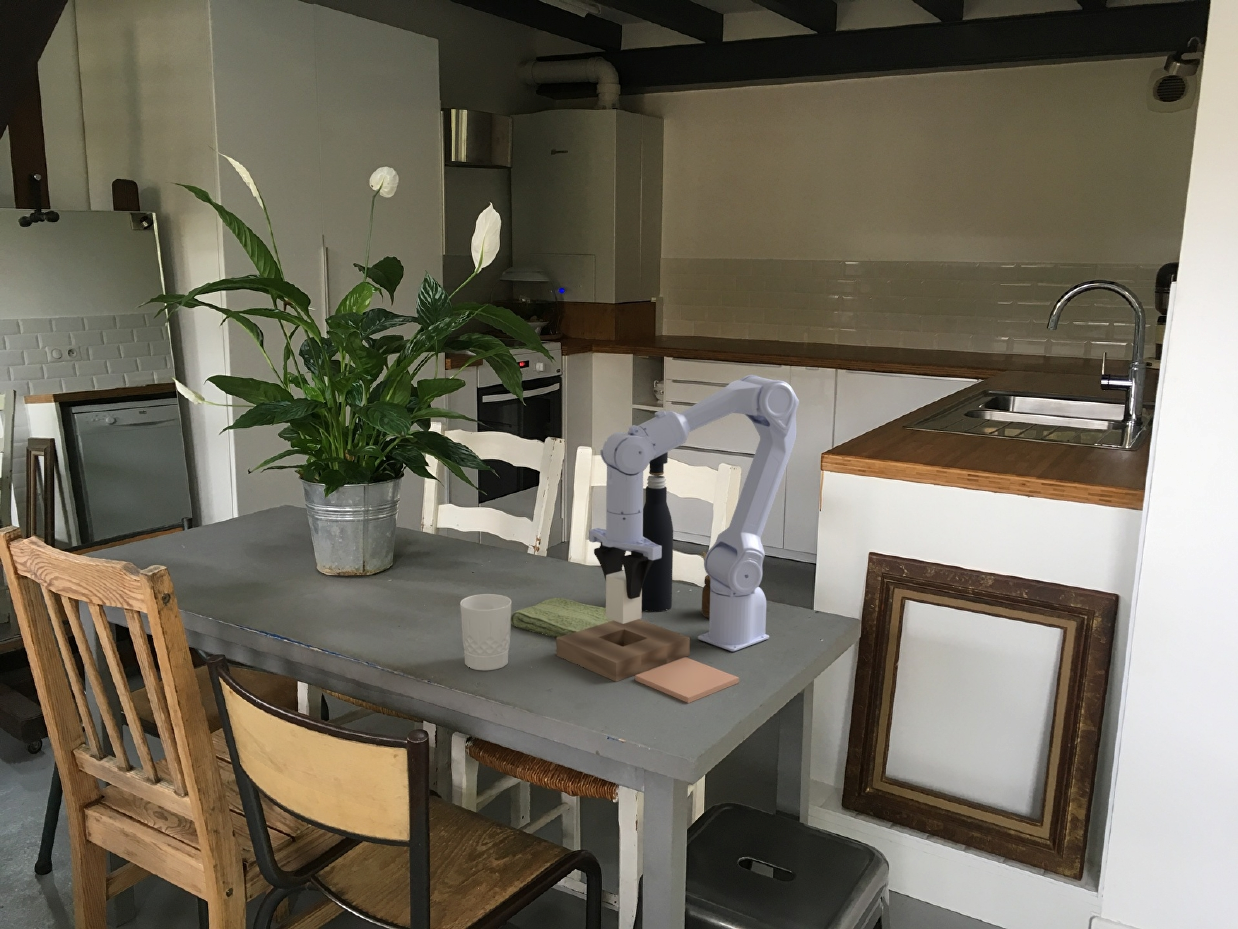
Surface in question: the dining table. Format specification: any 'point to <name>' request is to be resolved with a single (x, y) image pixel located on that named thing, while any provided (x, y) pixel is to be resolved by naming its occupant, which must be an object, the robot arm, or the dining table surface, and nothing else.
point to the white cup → (486, 630)
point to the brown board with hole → (622, 648)
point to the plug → (621, 600)
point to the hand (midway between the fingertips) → (623, 594)
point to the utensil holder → (706, 595)
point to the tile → (687, 679)
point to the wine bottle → (658, 539)
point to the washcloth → (559, 617)
